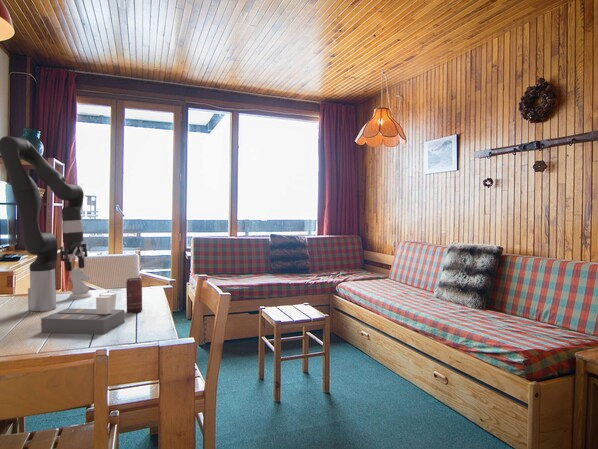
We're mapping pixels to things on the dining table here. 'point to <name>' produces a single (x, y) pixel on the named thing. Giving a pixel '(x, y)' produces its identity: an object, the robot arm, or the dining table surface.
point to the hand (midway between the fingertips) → (75, 269)
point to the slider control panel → (82, 321)
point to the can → (134, 295)
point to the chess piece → (79, 284)
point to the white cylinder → (113, 298)
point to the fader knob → (103, 305)
